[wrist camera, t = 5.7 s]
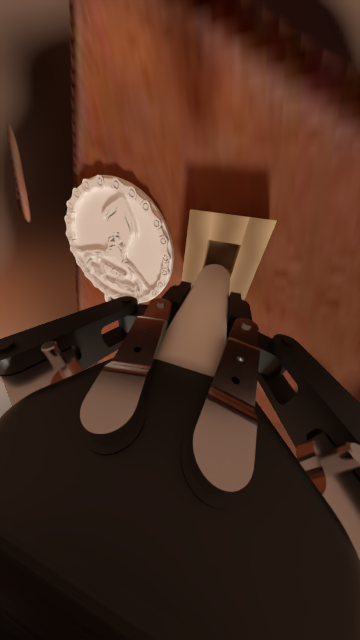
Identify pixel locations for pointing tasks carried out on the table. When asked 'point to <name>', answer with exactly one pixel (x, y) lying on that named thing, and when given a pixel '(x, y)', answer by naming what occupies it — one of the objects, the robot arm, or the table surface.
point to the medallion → (119, 238)
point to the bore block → (226, 246)
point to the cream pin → (200, 324)
